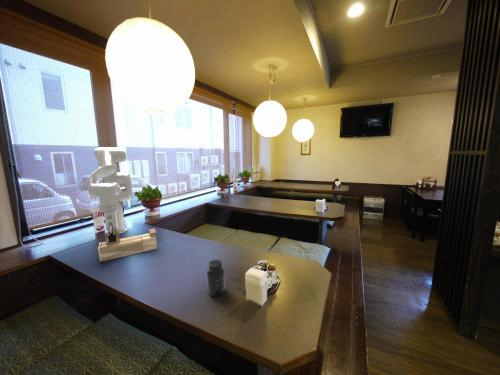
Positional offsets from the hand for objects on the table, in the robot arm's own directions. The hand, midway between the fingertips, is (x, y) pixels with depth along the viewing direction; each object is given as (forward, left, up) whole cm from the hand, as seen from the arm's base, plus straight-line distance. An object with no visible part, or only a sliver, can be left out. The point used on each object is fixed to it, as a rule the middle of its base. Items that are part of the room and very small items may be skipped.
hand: (113, 238), depth 109 cm
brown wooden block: (0, +19, -2) cm, 20 cm away
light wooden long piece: (0, +7, -9) cm, 12 cm away
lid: (0, +4, -3) cm, 5 cm away
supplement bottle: (+59, +35, -10) cm, 69 cm away
